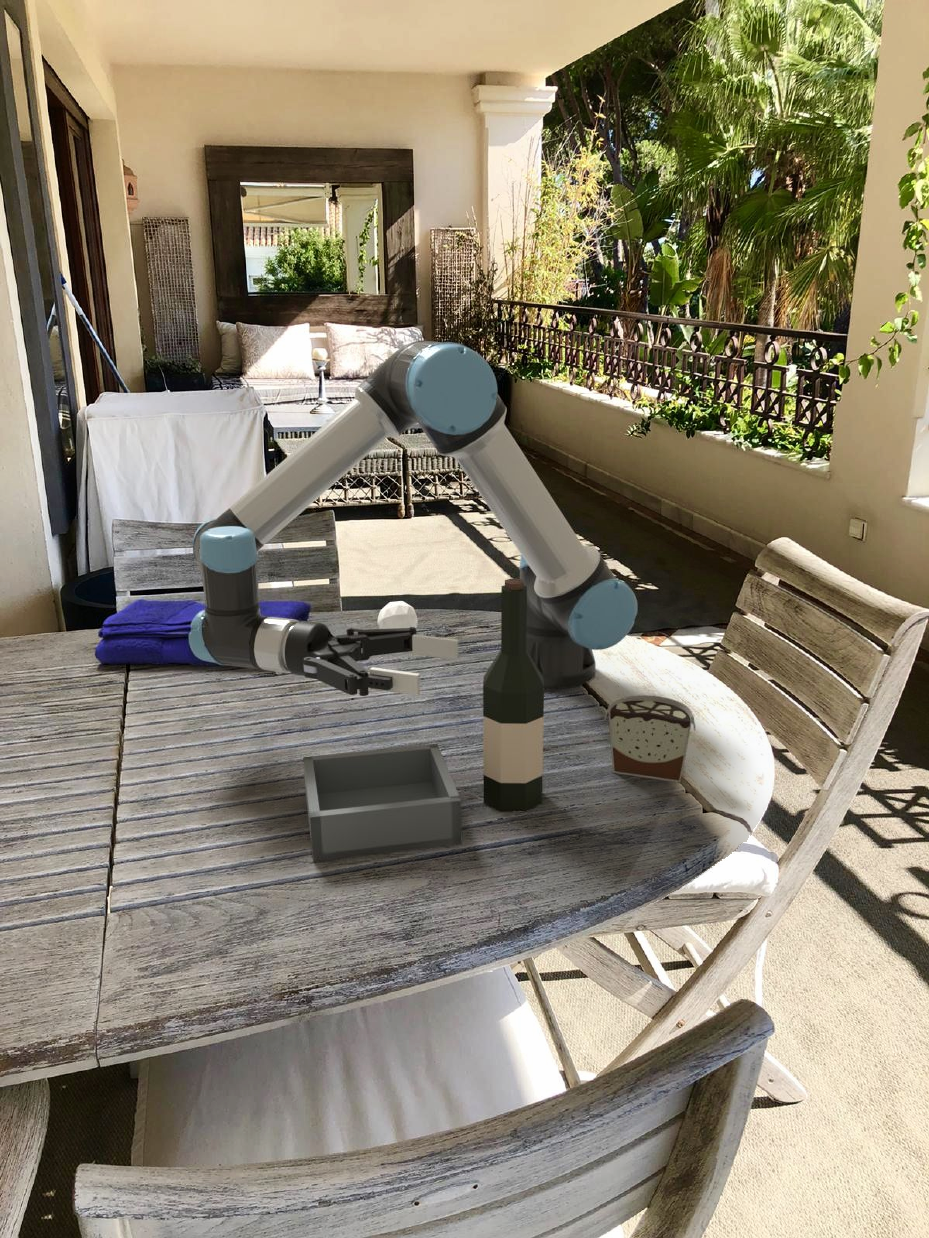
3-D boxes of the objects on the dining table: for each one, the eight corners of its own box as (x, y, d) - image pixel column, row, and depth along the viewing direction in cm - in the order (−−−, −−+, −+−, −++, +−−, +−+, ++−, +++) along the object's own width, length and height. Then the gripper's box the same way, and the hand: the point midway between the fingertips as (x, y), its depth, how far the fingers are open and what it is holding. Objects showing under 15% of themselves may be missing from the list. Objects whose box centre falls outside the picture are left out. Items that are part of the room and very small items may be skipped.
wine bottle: (552, 789, 133) (557, 576, 123) (530, 818, 125) (533, 594, 116) (496, 777, 136) (496, 569, 126) (471, 805, 129) (469, 586, 119)
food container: (696, 764, 139) (701, 699, 136) (691, 784, 134) (696, 716, 131) (610, 752, 143) (613, 689, 140) (602, 771, 138) (604, 705, 134)
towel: (143, 623, 203) (138, 582, 200) (314, 624, 201) (311, 583, 198) (92, 670, 178) (85, 624, 175) (286, 671, 176) (283, 625, 173)
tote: (438, 783, 134) (437, 743, 133) (461, 844, 120) (461, 800, 118) (305, 797, 131) (303, 757, 129) (313, 861, 116) (310, 817, 114)
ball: (391, 649, 193) (386, 611, 196) (427, 639, 190) (421, 600, 193) (372, 642, 186) (367, 602, 189) (409, 630, 184) (403, 591, 186)
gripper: (338, 644, 147) (471, 661, 140) (248, 706, 125) (400, 730, 118) (336, 596, 145) (471, 611, 138) (244, 650, 123) (399, 672, 116)
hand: (439, 666), depth 128 cm, fingers open, 13 cm apart
